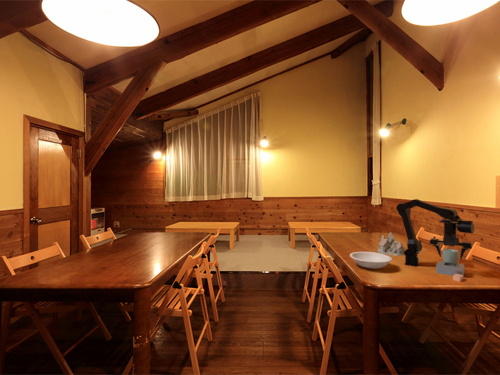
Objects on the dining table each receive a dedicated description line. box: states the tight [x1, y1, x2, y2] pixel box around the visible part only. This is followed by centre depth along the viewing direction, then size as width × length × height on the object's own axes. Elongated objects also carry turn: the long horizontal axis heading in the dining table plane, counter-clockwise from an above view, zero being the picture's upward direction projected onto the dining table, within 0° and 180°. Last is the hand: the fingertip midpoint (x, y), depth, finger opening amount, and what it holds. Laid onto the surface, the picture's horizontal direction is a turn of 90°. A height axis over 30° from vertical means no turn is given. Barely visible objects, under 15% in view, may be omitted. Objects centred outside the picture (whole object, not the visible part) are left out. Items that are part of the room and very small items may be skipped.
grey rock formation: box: [376, 232, 406, 257], centre depth 191 cm, size 16×16×15 cm
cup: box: [442, 248, 460, 264], centre depth 158 cm, size 8×8×10 cm
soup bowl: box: [349, 251, 393, 270], centre depth 159 cm, size 24×24×7 cm
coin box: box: [435, 260, 465, 279], centre depth 146 cm, size 12×9×5 cm
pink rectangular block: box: [452, 274, 464, 282], centre depth 136 cm, size 3×5×2 cm, turn 125°
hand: (450, 258), depth 146 cm, fingers open, 9 cm apart
